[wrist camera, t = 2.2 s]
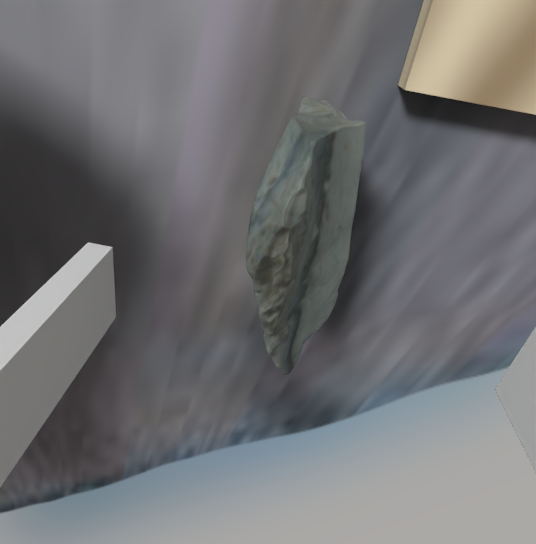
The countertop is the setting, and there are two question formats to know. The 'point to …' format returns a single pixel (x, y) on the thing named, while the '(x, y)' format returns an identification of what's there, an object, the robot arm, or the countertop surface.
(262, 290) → the stone
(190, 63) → the countertop surface
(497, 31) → the board
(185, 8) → the countertop surface
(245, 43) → the countertop surface
